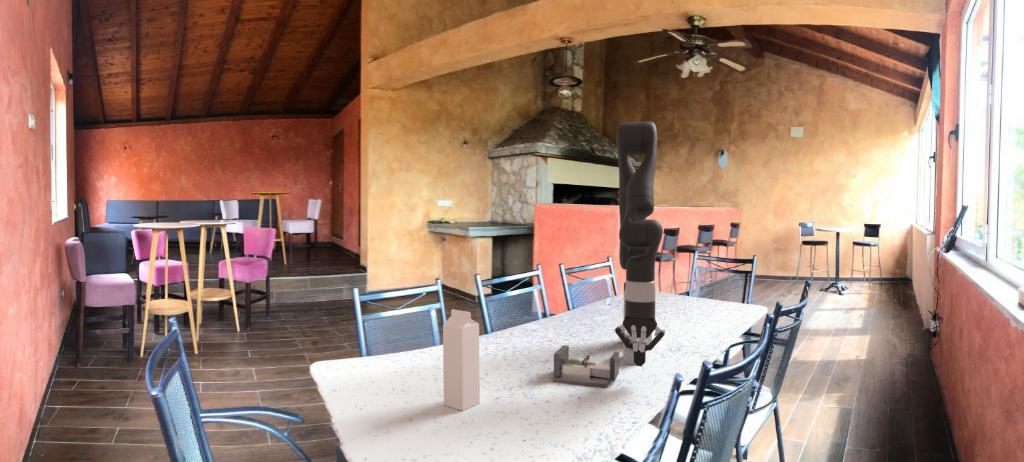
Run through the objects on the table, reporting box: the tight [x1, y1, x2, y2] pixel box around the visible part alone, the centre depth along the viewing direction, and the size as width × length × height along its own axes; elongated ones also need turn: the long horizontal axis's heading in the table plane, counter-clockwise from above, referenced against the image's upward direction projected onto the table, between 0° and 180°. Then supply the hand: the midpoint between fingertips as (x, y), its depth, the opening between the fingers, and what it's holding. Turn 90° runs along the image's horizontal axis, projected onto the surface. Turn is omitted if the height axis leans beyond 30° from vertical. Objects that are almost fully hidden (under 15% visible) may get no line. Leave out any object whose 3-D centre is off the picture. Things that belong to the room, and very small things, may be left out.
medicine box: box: [622, 329, 636, 365], centre depth 158 cm, size 8×4×9 cm, turn 168°
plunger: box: [582, 351, 620, 381], centre depth 141 cm, size 6×9×6 cm, turn 68°
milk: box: [442, 309, 481, 412], centre depth 124 cm, size 6×6×22 cm
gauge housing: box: [552, 344, 612, 389], centre depth 142 cm, size 11×14×7 cm
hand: (639, 365), depth 137 cm, fingers closed
